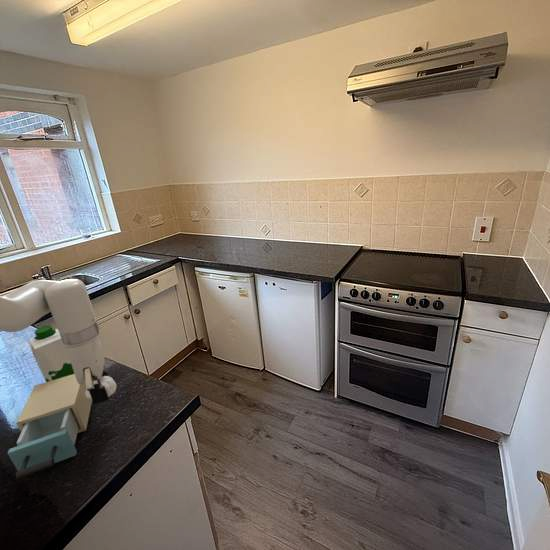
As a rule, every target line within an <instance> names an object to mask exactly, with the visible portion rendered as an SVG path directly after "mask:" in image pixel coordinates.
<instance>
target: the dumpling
mask: <svg viewBox="0 0 550 550" xmlns="http://www.w3.org/2000/svg"><path fill="white" fill-rule="evenodd" d="M101 381H102V385H103V386H105V389H106V392H107V395H108V398H110V397H111V396H112V395H114V394H115V393H116V392H117V387H118V385H117V383H116V381H115V380H114V379H113V377H111V376H109V375H108V376H103V377H101ZM93 382H94V384H98V381H97V380H96V381H93ZM84 393H85V392H84ZM86 397H87V398H89V399H92V398H91V395H90V393H89V391H87V389H86Z"/></svg>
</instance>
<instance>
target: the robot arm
mask: <svg viewBox="0 0 550 550" xmlns="http://www.w3.org/2000/svg"><path fill="white" fill-rule="evenodd" d="M49 313H51V316H52V318H53V320H54V322H55V326H56V329H58V331H59V334H60V336H61V339H62V341H63V344H64V345H65V346H68V352H69V357H70V361H71V364H72V368H73V371H74V374H75V377H76V380H77V383H78V384H79V385H81V384H83V383H84V379H85V381H86V388H87V391H89V393H90V395H91V398H92V404H93V405H97V404H101V403H104V402H107V401H108V400H109V397H108V395H107V392H106V389H105V386H103V385H102V381H101V377H103V376H109V374H108V371H106V370H107V368H106V366H105V363H106V362H105V361H106V356H105V352H104V349H103V346H102V343H101V340H100V338H99V336H100V335H101V329H100V326H99V323H98V320H97V317H96V314H95V311H94V308H93V305H92V302H91V299H90V296H89V294H88V290H87V287H86V284H85V283H84V282H83V281H82V280H81V279H77V278H68V279H63V280H60V281H59V280H47V279H37V280H33V281H30V282H27V283H26V284H24V285H22V286H20V287H18V288H16V289H14V290H12V291H10V292H8V293H7V294H5V295H3V296H2V295H0V332H5V333H18V332H21V331H24V330H26V329H28V328H29V327H30V326H32V325H33V324H35V323H36V322H37V321H39V320H40V319H41V318H42V317H44V316H45V315H47V314H49ZM96 380H97V381H98V384H94V382H93V381H96Z"/></svg>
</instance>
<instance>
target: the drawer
mask: <svg viewBox="0 0 550 550" xmlns="http://www.w3.org/2000/svg"><path fill="white" fill-rule="evenodd" d="M78 428H79V423H78V420H77V418H76V416H75V414H74V411H73V409H72V408H69V409H66V410H63V411H60V412H57V413H54V414H51V415H48V416H45V417H42V418H39V419H35V420H32V421H29V422H26V423H25V425H24V428H23V430H22V432H21V431H20V433H19V437H18V438H17V441H16V445H17V446H13V447H12V448H9V449H8V451H7V456H8V457H9V459H10V460H11V462H12V464H13V466H14V467H15V469H16V470H17V471H16V473H15V478H16V479H17V480H20V479H23V478H26V477H29V476H31V475H34V474H36V473H39V472H42V471H44V470H47V469H49V468H52V467H54V466H55V464H56V463H59V462H61V461H64V460H67V459H69V458H72V457H76V455H77V452H78V451H77V450H78V449H76V446H75V445H76V441H77V437H78V434H79V433H78Z"/></svg>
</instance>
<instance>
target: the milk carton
mask: <svg viewBox="0 0 550 550" xmlns="http://www.w3.org/2000/svg"><path fill="white" fill-rule="evenodd" d="M34 335H35V336H34V337H32V338H30V339H28V341H29V346H30V349H31V352H32V356H33V357H34V359H35V362H36V364H37V365H38V368H39V370H40V372H41V374H42V376H43V379H44V381H45V382H49V381H52V380H55V379H59V378H62V377H66V376H69V375H72V374H74V371H73V368H72V364H71V361H70V357H69V352H68V346H65V345H64V344H63V341H62V339H61V336H60V334H59V331H58V328H56V329H53V327H52V325H44V326H41V327H39V328H37V329H35V330H34Z"/></svg>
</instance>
